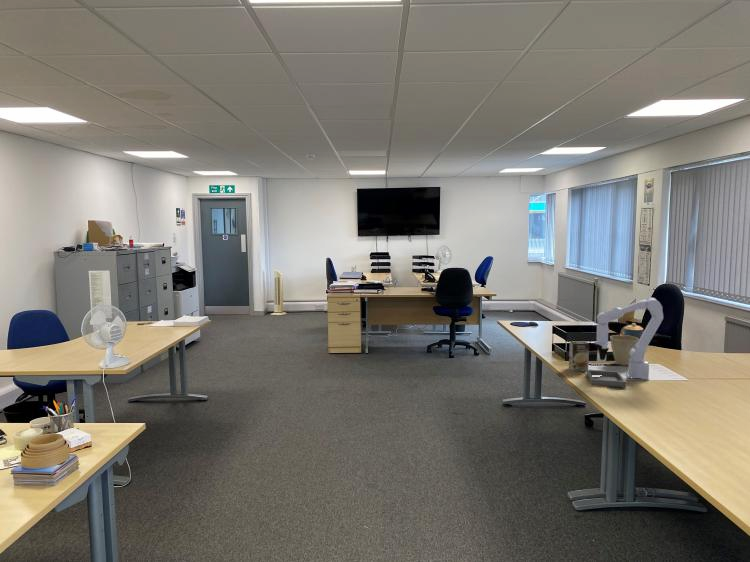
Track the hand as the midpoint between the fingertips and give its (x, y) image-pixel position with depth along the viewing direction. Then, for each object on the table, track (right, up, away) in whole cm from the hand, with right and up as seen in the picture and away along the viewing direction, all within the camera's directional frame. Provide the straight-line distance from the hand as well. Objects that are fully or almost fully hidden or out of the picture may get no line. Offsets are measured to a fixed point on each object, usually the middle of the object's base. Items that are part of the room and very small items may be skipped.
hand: (601, 358), depth 264 cm
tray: (-3, -10, -11) cm, 16 cm away
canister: (+47, -3, +54) cm, 71 cm away
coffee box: (-9, -8, +10) cm, 16 cm away
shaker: (0, -2, 0) cm, 2 cm away
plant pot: (+22, -7, +20) cm, 30 cm away
